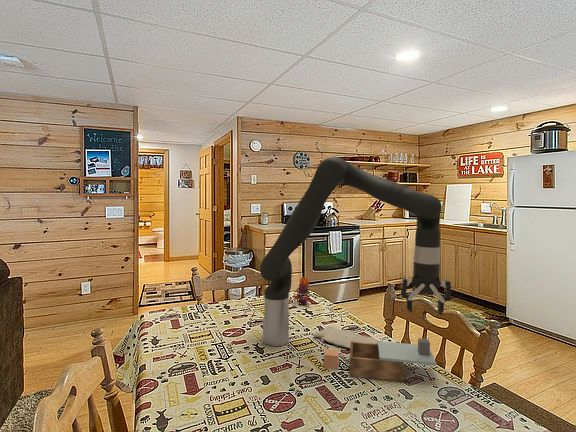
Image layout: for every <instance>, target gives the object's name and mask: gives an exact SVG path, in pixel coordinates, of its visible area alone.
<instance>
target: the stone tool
mask: <svg viewBox="0 0 576 432" xmlns="http://www.w3.org/2000/svg"><path fill="white" fill-rule="evenodd" d="M312 336H313V337H314V338H320V339H321V340H322V341H325V342H327V343H329V344H333V345H334V346H339V347H343V348H348V349H350V345H351V342H362V343H373V344H378V341H379V340H378V339H377V338H374V337H372V336H367V335H365V336H364V335H361V334H358V333H356V332H354V331H351V330H346V329H339V328H334V327H332V326H330V325H328V326H326V328H324V329H322V330H319V331H317V332H314V333H313V334H312Z"/></svg>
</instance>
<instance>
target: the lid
mask: <svg viewBox="0 0 576 432" xmlns="http://www.w3.org/2000/svg"><path fill="white" fill-rule="evenodd" d="M378 350H379V359H380V360H383V361H393V362H403V363H404V364H405V363H406V364H416V365H424V366H437V361H436V360H435V357H434V355H433V352H432V350H431V341H430V340H429V338H421V337H419V338H417V344H415V343H403V342H392V341H381V340H378Z"/></svg>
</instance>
